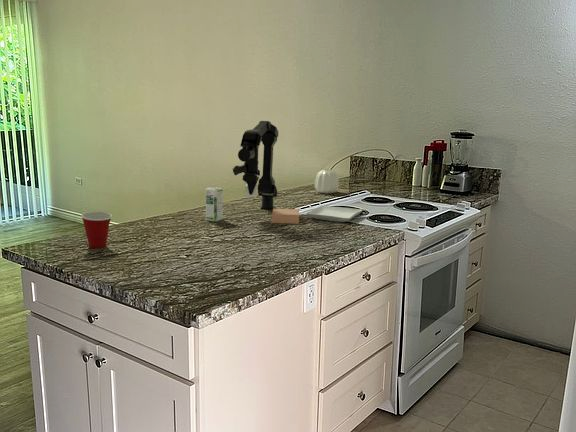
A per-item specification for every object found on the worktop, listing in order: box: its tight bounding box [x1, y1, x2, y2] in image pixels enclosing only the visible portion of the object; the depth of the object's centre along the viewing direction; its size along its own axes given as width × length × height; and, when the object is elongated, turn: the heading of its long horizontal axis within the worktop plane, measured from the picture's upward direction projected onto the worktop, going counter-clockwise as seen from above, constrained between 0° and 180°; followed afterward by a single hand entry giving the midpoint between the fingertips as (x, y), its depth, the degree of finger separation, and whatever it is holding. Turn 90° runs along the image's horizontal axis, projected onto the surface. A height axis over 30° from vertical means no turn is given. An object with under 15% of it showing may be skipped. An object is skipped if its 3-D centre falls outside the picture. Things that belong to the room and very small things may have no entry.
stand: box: [271, 208, 300, 225], centre depth 260 cm, size 12×12×4 cm
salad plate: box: [306, 205, 363, 223], centre depth 269 cm, size 21×21×3 cm
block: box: [244, 183, 258, 198], centre depth 260 cm, size 5×5×5 cm
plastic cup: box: [80, 211, 113, 249], centre depth 209 cm, size 11×11×12 cm
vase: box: [314, 168, 340, 195], centre depth 333 cm, size 14×14×13 cm
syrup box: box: [205, 186, 224, 222], centre depth 256 cm, size 6×6×14 cm
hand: (251, 193), depth 260 cm, fingers closed on block, 5 cm apart
